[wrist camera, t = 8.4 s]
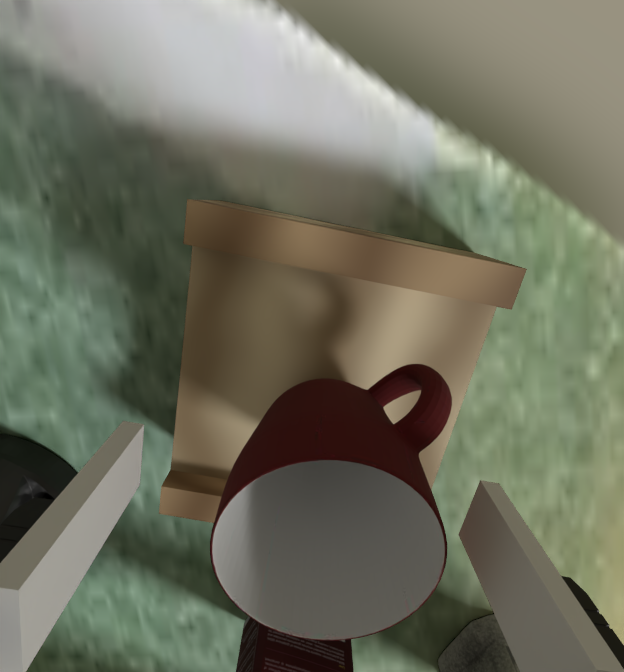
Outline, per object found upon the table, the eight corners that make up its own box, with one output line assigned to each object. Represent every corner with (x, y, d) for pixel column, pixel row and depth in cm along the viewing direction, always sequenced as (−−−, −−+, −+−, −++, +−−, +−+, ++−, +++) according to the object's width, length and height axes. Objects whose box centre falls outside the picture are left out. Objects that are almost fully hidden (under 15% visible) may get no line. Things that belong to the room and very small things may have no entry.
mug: (347, 280, 20) (372, 346, 11) (455, 373, 22) (560, 503, 12) (226, 417, 23) (161, 566, 13) (331, 491, 25) (338, 672, 15)
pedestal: (192, 449, 30) (159, 513, 23) (221, 200, 24) (187, 199, 18) (399, 485, 30) (419, 557, 24) (474, 252, 25) (526, 269, 18)
